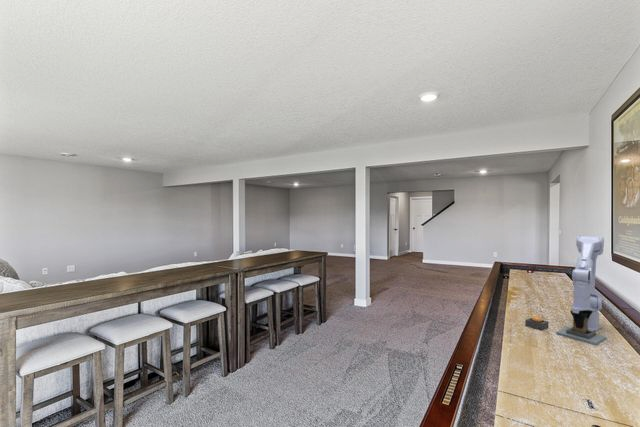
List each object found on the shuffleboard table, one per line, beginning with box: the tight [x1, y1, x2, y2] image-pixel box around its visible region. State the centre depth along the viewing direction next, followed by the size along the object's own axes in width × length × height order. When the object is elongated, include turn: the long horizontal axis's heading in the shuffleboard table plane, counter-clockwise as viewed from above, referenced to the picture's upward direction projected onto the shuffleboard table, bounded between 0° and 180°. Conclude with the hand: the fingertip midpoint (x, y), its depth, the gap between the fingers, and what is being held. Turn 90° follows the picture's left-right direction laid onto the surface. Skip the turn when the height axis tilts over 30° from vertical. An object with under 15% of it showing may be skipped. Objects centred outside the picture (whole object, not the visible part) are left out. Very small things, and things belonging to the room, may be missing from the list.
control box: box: [524, 317, 549, 331], centre depth 152 cm, size 7×7×3 cm
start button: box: [531, 315, 543, 323], centre depth 152 cm, size 4×4×2 cm
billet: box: [572, 317, 589, 333], centre depth 141 cm, size 4×4×6 cm
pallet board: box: [555, 326, 607, 346], centre depth 140 cm, size 13×14×2 cm
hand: (581, 327), depth 140 cm, fingers closed on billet, 4 cm apart
